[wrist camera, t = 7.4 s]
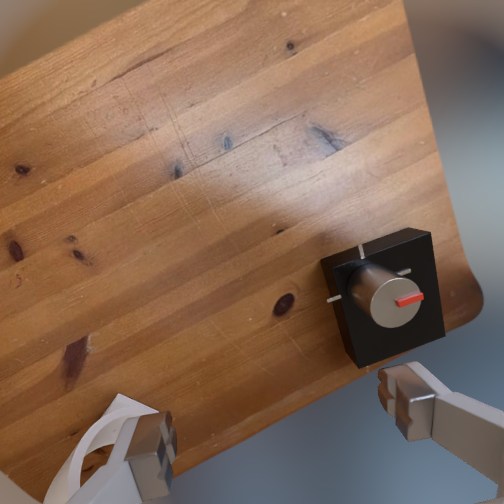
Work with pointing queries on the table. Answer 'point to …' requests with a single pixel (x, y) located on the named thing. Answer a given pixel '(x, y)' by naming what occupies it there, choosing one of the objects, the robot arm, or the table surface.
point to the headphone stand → (93, 446)
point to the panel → (403, 263)
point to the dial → (384, 295)
